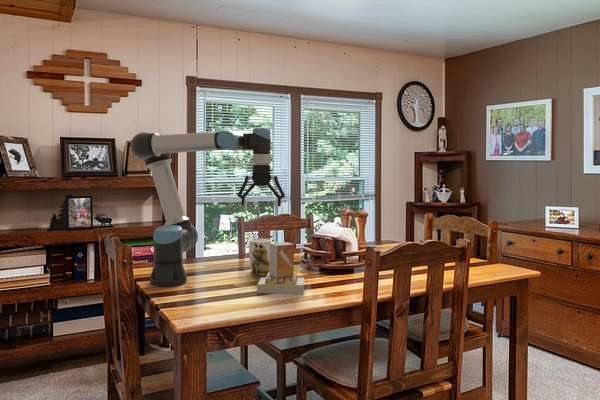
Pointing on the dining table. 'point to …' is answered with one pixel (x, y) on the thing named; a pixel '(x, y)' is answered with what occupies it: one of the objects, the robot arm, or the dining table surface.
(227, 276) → the dining table surface
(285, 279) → the pallet
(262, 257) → the decorative figurine
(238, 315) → the dining table surface
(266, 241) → the jar
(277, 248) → the small box
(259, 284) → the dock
